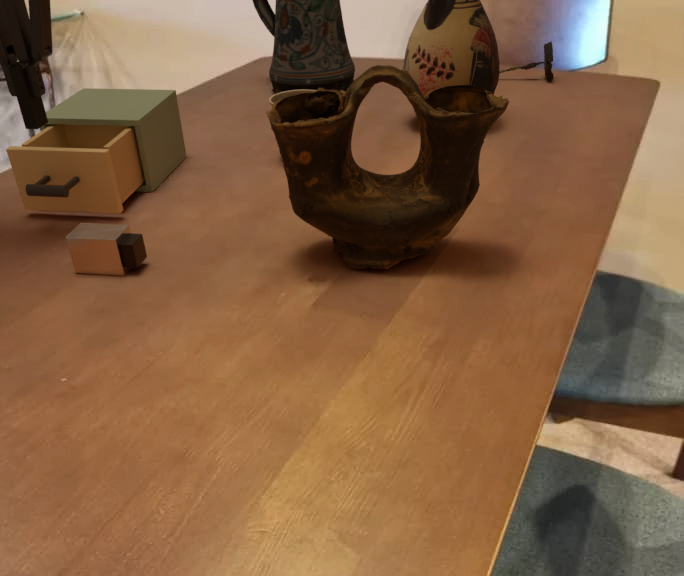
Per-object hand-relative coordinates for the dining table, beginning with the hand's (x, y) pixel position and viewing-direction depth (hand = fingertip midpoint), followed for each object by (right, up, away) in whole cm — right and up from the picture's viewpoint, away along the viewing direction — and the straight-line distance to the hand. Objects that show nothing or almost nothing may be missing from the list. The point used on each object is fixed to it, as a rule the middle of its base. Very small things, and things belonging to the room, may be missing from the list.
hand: (37, 125), depth 86 cm
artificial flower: (+66, +33, +55) cm, 92 cm away
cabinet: (+4, +3, +22) cm, 23 cm away
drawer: (+2, -5, +12) cm, 13 cm away
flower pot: (+31, +6, +25) cm, 40 cm away
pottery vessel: (+41, -16, -1) cm, 44 cm away
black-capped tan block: (+10, -17, -2) cm, 20 cm away
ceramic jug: (+53, +16, +35) cm, 66 cm away
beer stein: (+29, +32, +55) cm, 70 cm away
